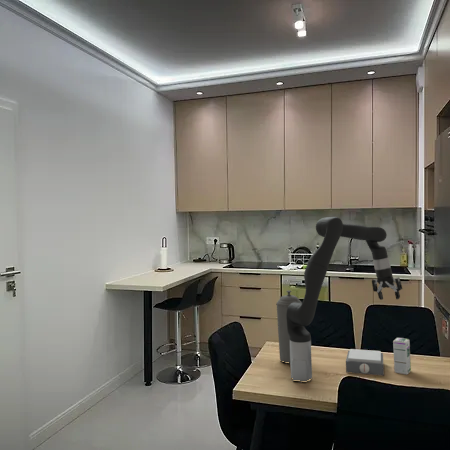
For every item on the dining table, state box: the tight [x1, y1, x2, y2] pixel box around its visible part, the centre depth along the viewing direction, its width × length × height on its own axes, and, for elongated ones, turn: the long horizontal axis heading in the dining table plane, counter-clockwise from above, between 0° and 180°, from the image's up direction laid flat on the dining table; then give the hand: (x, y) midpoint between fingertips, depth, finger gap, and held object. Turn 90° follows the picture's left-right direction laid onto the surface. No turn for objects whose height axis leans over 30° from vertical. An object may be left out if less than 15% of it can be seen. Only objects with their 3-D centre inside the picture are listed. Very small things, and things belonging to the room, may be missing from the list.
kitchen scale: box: [345, 348, 385, 377], centre depth 195 cm, size 17×16×6 cm
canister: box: [276, 290, 303, 363], centre depth 209 cm, size 13×13×35 cm
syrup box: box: [392, 337, 412, 376], centre depth 189 cm, size 6×6×14 cm
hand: (389, 299), depth 210 cm, fingers open, 8 cm apart
